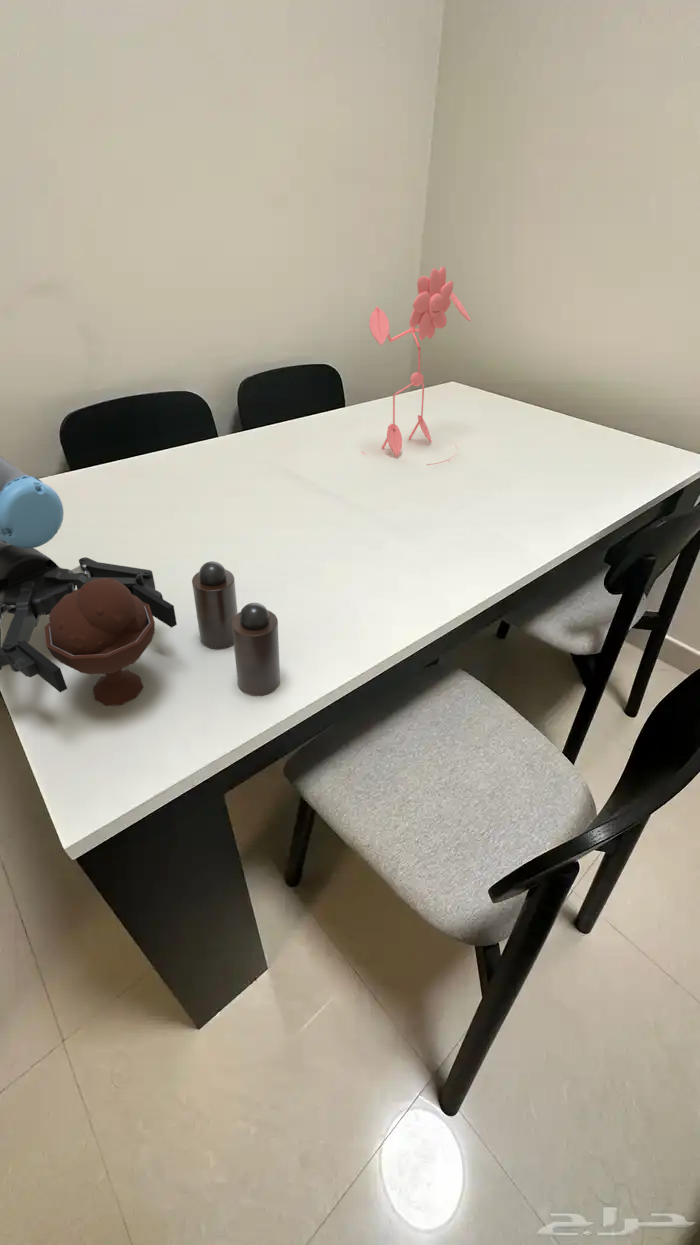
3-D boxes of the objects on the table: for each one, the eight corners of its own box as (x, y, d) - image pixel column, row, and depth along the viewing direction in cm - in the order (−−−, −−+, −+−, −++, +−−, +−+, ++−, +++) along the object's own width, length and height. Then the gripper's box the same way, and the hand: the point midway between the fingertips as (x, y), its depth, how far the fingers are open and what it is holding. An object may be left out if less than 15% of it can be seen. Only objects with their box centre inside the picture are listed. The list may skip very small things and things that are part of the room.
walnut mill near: (250, 702, 66) (244, 625, 60) (230, 677, 69) (221, 601, 63) (288, 684, 69) (285, 609, 62) (266, 661, 72) (262, 587, 65)
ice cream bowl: (156, 648, 73) (134, 544, 64) (174, 708, 65) (152, 599, 56) (64, 670, 69) (27, 563, 60) (73, 736, 61) (31, 625, 52)
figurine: (352, 456, 125) (361, 266, 103) (428, 430, 139) (450, 259, 118) (405, 479, 116) (428, 278, 95) (481, 449, 131) (515, 269, 109)
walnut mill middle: (211, 654, 73) (201, 579, 66) (193, 633, 76) (182, 560, 69) (246, 640, 75) (240, 566, 68) (228, 620, 78) (220, 548, 71)
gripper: (110, 558, 81) (214, 619, 71) (-85, 646, 65) (15, 740, 55) (98, 509, 76) (207, 568, 67) (-115, 591, 60) (-12, 684, 51)
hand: (120, 646), depth 61 cm, fingers open, 13 cm apart
